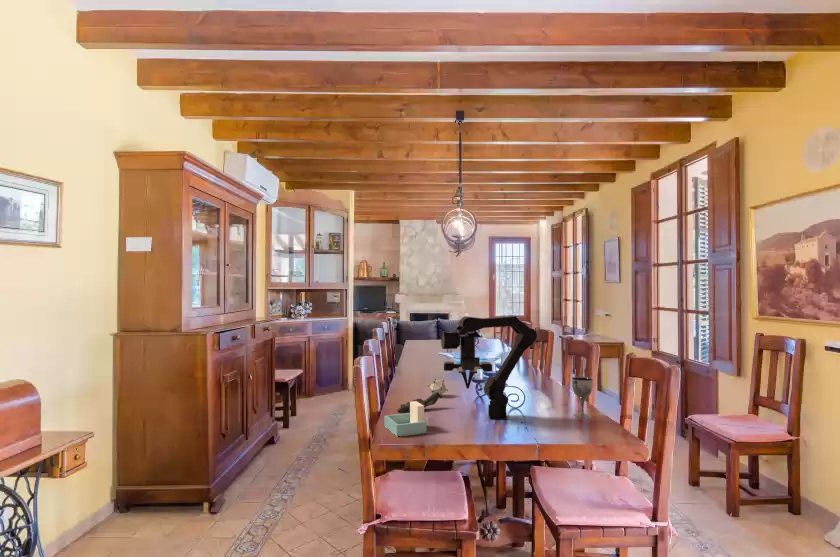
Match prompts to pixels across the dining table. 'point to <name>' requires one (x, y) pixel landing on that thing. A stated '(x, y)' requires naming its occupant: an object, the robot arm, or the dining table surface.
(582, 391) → the wine glass
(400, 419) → the box
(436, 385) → the game die
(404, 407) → the statue
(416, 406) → the bookend
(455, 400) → the dining table surface
